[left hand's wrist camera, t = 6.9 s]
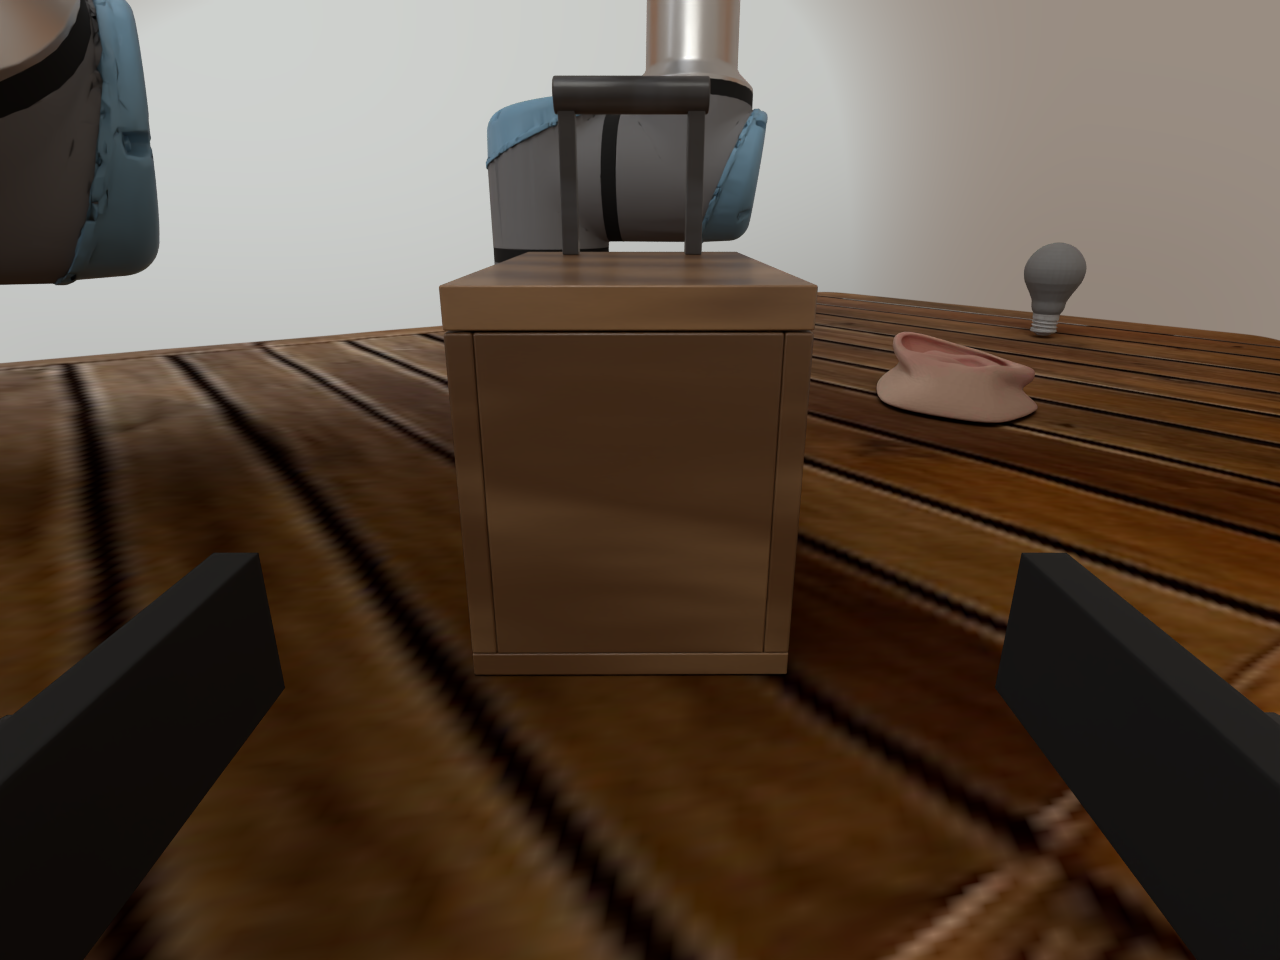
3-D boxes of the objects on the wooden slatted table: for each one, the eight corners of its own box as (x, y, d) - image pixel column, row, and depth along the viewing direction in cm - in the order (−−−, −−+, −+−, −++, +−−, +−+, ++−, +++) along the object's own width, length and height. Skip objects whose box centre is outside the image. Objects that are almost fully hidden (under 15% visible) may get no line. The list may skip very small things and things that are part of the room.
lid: (528, 277, 35) (518, 84, 32) (736, 277, 35) (744, 84, 32) (442, 331, 19) (408, -33, 16) (814, 330, 19) (843, -33, 16)
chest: (536, 495, 37) (525, 280, 34) (729, 495, 37) (738, 280, 34) (474, 675, 23) (442, 333, 19) (787, 674, 23) (814, 332, 19)
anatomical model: (1052, 368, 46) (865, 355, 51) (1040, 429, 48) (858, 410, 52) (1042, 337, 58) (889, 328, 62) (1032, 387, 59) (884, 375, 64)
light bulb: (1023, 338, 81) (1040, 243, 78) (1006, 330, 87) (1021, 241, 84) (1081, 339, 81) (1101, 244, 77) (1060, 331, 86) (1078, 241, 83)
